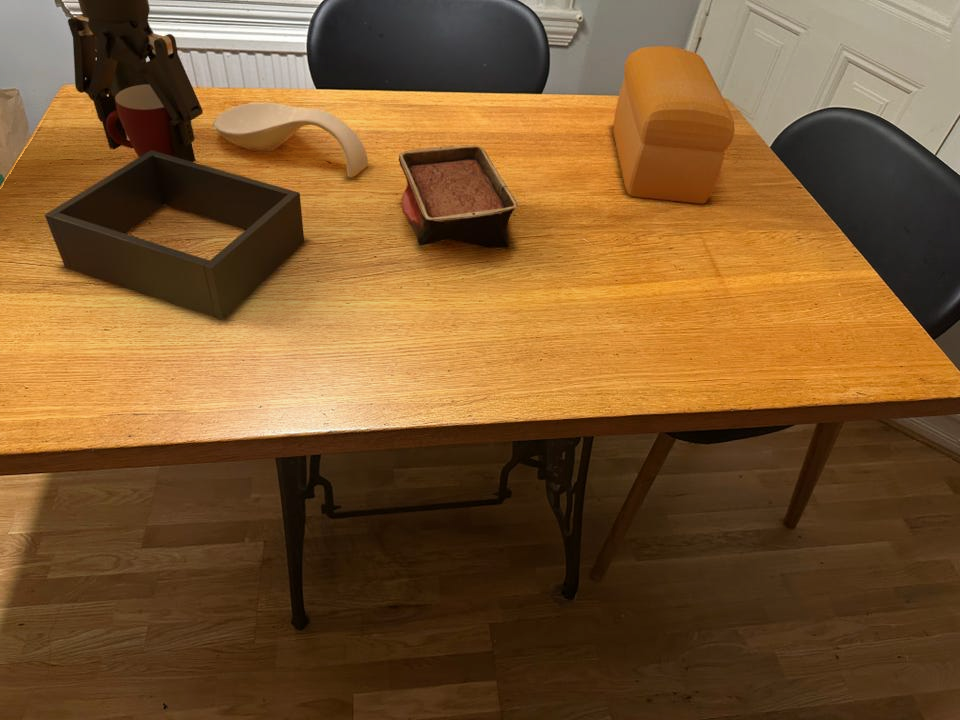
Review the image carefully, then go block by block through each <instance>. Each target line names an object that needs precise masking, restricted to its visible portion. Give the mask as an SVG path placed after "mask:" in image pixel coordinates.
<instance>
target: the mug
mask: <svg viewBox="0 0 960 720" xmlns="http://www.w3.org/2000/svg"><path fill="white" fill-rule="evenodd" d="M115 103H116V107H117V110H116V111H113V112H111V113H110V114H109V116H108V118H107V121H106V127H107V131H108V133H109V135H110V136H111V138H112V139H113V140H114V141H115V142H117V143H118V144H120V145H122V146H121V147H125V148H128V149H133V151H134V153H135V154H136V155H137V158H139V157H141V156H142V155H144V154H145V153H147V152H149V151H150V150H152V151H156V152H159V153H163V154H166V155H170V156H173V157H176V156H175V152H174V147H173V143H172V139H171V134H170V130H169V125H168V121H170V120H172V118H171V116H170V115H169V113H168V112H167V110H166V109H165V107H164V106H163V104H162V103H161V101H160V100H159V98H158V97H157V95H156V94H155V92H154V91H153V89H152V88H151V86H150V85H149V84H145V85H137V86H132V87H129V88H126V89H124V90H122V91H120V92H118V93H117V94H116V96H115ZM177 110H178V111H180V109H179V108H178V109H177ZM117 119H120V121H121V123H122V125H123V128H124V130H125V132H126V136H127V139H125V138H123V137H122V136H121V135H120V134H119V132H118V131H117V129H116V125H115V122H116V120H117Z"/></svg>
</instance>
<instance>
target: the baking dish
mask: <svg viewBox="0 0 960 720" xmlns="http://www.w3.org/2000/svg"><path fill="white" fill-rule="evenodd" d="M398 162H399V166H400V168H401V170H402V171H403V174H404V176H405V180H406V187H405V190H404V191H403V194H402V196H401V209H402V213H403V215H404V216H405V217H406V220H407V221H408V223H409V225H410V227H411V229H412V232H413V233H414V236H415V239H416V241H417V244H418V246H419V247H422V246H426V245H431V244H434V243H439V242H443V241H446V240H448V241H452V242H458V243H462V244H467V245H472V246H476V247H480V248H486V249H503V248H504V249H505V248H510V241H509V234H508V230H509V225H510V224H509V223H510V218H511V216H512V214H513V213H514V211H515V209H516V208H517V207H518V206H519V205H518V204H519V203H518V201H517V199H516V197H515V196H514V195H513V193H512V192H511V191H510V189H509V188H508V186H507V185H506V183H505V181H504V180H503V179H502V177H501V175H500V173H499V171H498V170H497V168H496V167H495V165H494V163H493V162H492V160H491V158H490V156H489V155H488V154H487V151H486V150H485V149H484V148H483V147H482V146H480V145H475V144H473V145H472V144H471V145H449V146H435V147H426V148H419V149H411V150H406V151H403V152H401V153H399V155H398Z"/></svg>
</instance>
